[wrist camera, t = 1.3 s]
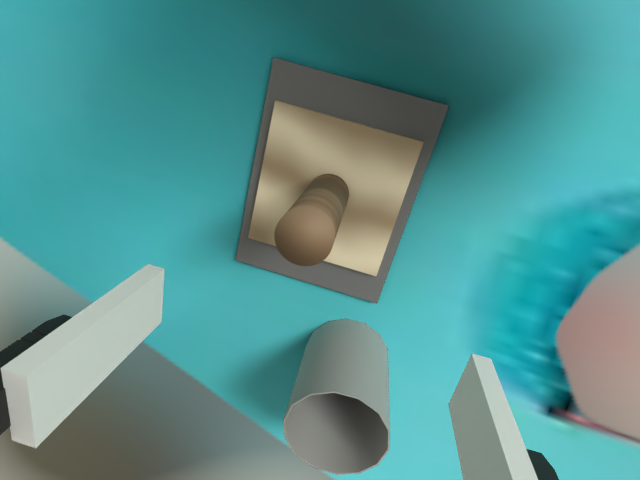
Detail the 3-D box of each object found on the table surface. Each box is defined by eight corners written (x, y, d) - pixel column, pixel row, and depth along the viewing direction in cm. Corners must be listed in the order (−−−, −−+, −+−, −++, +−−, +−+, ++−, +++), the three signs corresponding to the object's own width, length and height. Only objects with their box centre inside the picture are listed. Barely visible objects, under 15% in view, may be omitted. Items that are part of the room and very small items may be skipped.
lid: (277, 100, 30) (218, 100, 19) (422, 141, 30) (446, 165, 19) (250, 234, 35) (191, 296, 24) (376, 272, 34) (374, 353, 23)
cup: (300, 375, 40) (275, 457, 31) (313, 310, 37) (291, 380, 28) (377, 395, 40) (376, 485, 30) (398, 331, 37) (403, 409, 27)
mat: (275, 58, 30) (273, 57, 29) (447, 105, 29) (449, 105, 29) (237, 257, 36) (235, 260, 36) (376, 300, 36) (376, 303, 35)
